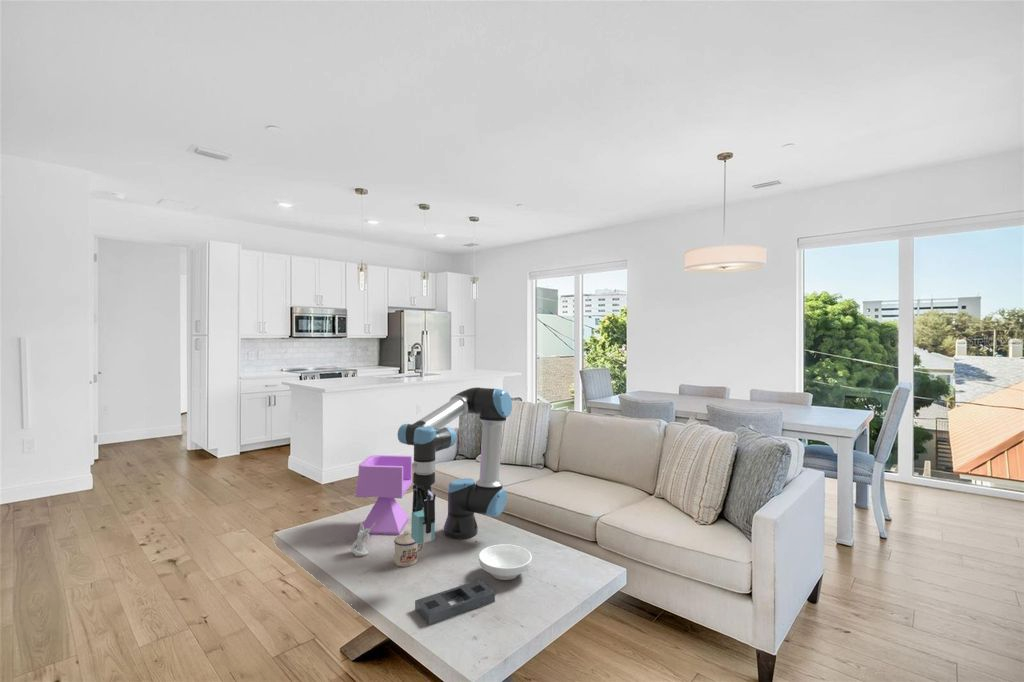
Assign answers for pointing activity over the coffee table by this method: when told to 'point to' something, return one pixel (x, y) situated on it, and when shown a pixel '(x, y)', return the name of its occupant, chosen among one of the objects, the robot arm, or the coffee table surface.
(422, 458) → the robot arm
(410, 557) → the teacup with lid
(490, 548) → the bowl
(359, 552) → the figurine
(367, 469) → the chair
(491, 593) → the grey flat slotted block
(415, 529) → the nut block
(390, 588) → the coffee table surface
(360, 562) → the coffee table surface
